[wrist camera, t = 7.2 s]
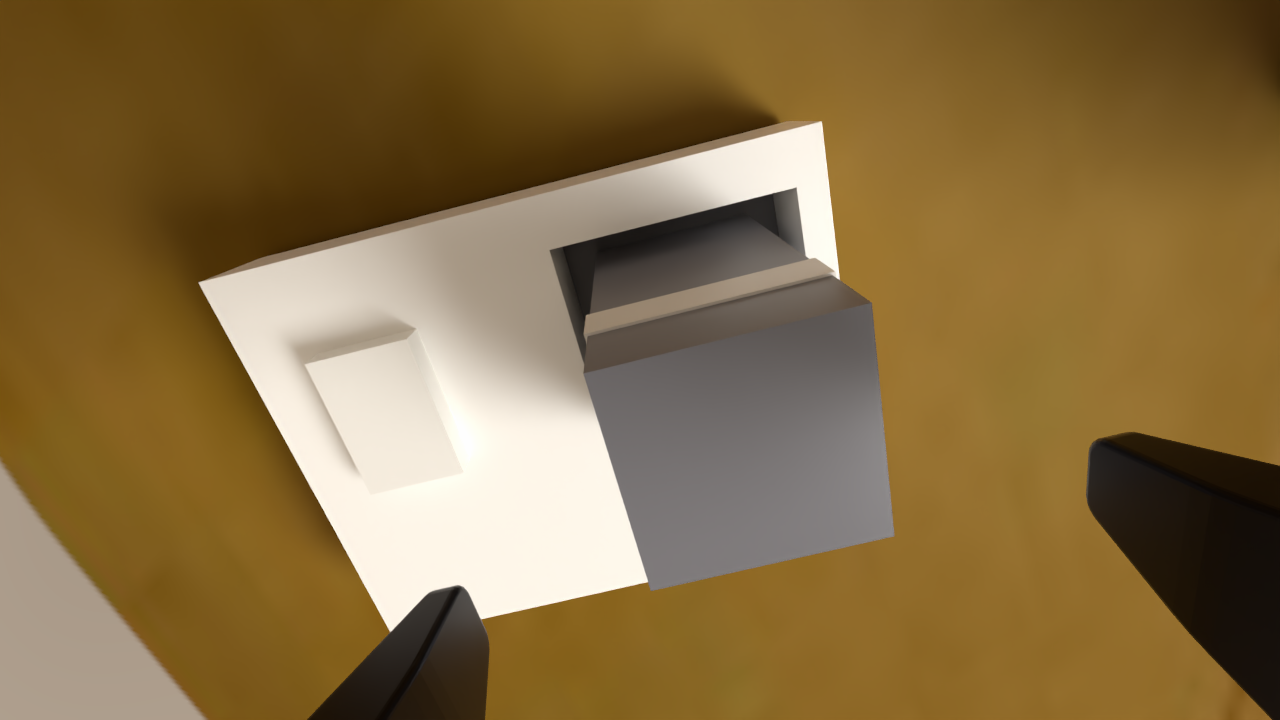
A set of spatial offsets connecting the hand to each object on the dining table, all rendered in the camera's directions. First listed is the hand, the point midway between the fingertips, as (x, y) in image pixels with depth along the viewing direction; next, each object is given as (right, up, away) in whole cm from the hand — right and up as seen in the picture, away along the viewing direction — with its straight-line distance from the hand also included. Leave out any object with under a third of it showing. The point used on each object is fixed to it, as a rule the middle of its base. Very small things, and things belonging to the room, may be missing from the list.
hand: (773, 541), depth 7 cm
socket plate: (-3, +2, +10) cm, 11 cm away
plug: (0, +4, +9) cm, 10 cm away
